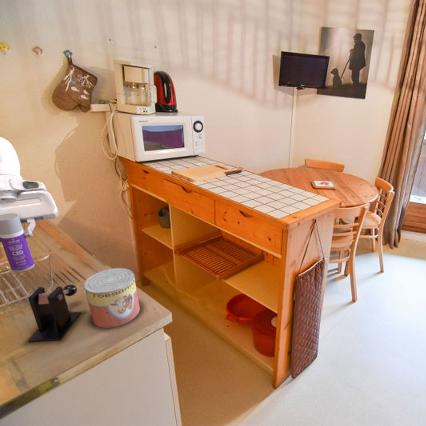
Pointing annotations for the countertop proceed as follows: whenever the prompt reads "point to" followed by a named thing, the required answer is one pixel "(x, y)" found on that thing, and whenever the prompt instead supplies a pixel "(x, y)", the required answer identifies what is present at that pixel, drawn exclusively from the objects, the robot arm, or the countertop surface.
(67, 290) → the lever
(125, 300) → the canned food
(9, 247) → the container
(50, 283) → the countertop surface
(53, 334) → the bracket
